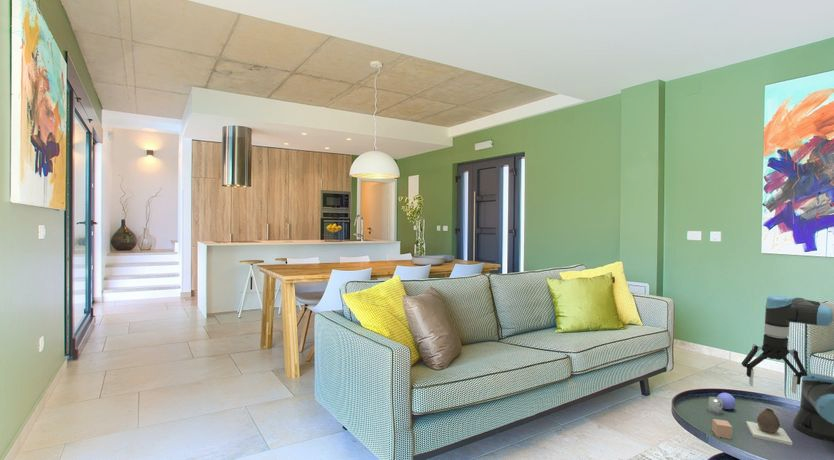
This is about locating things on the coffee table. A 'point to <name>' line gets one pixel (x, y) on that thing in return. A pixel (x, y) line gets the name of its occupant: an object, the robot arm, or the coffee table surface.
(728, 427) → the terracotta block
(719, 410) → the metal tin
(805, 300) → the robot arm
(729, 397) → the sphere
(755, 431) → the board
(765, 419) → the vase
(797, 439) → the coffee table surface
